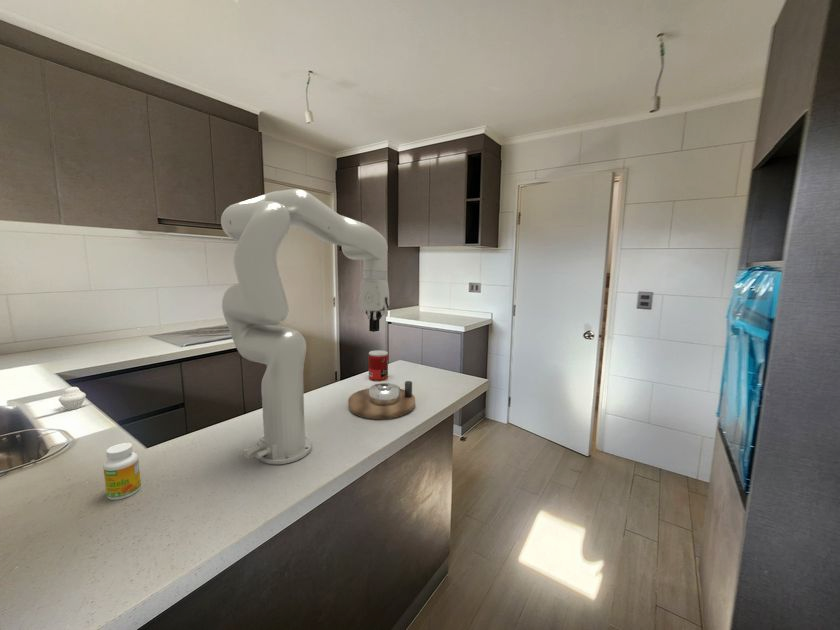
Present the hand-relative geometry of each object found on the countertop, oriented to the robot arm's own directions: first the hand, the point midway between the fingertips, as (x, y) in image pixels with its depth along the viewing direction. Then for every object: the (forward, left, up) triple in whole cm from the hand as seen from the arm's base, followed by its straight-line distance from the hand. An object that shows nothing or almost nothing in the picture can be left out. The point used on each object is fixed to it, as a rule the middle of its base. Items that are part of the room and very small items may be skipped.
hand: (374, 330), depth 118 cm
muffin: (-64, +71, -25) cm, 98 cm away
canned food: (+18, +15, -25) cm, 34 cm away
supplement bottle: (-67, +7, -25) cm, 72 cm away
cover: (-3, -7, -22) cm, 23 cm away
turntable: (-2, -5, -24) cm, 25 cm away
